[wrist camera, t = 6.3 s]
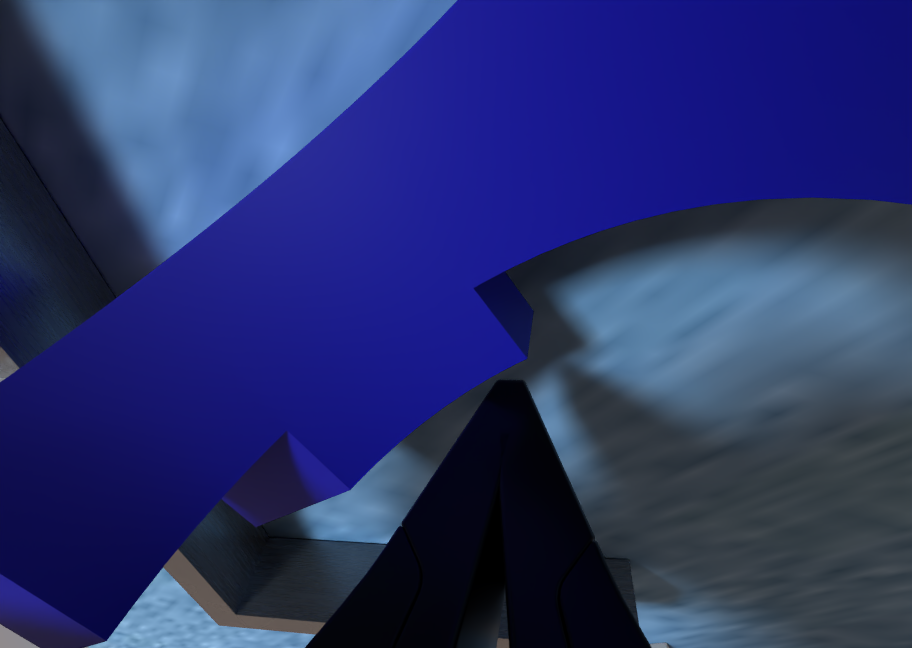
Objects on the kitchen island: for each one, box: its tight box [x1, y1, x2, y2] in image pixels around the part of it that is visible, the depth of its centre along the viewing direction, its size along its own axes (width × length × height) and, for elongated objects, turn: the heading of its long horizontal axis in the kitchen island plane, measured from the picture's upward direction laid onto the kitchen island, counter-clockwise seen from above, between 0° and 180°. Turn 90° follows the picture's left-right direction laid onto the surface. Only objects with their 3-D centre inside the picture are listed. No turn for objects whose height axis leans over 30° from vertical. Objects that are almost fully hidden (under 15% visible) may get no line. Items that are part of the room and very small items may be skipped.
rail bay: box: [0, 118, 639, 648], centre depth 10 cm, size 13×20×3 cm, turn 6°
